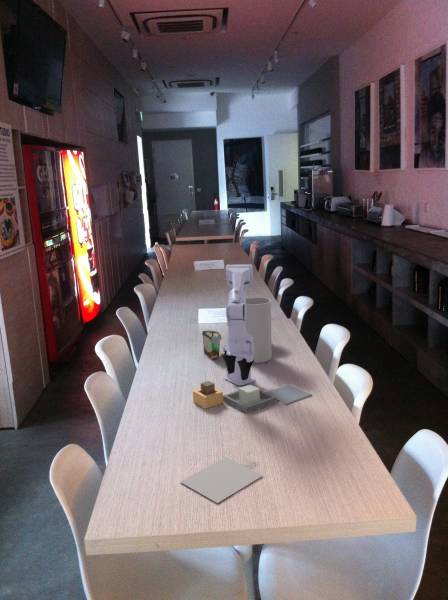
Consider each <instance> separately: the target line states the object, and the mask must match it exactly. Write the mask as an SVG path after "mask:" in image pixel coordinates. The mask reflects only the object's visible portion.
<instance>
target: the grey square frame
mask: <svg viewBox="0 0 448 600" xmlns="http://www.w3.org/2000/svg"><path fill="white" fill-rule="evenodd" d="M259 390H260V398H262V399H263V400H260V402H257V403H254V404H251V405H248V406H247V405H245V404H243V403H241V402H239V400H236V399H239V390H236V391H233V392H230V393H227V394H223V403H225V404H227V405H230V406H232V407H234V408H236V409H238V410H239V411H241V412H243V413H245V414H249V413H252V412H254V411H257V410H259V408H260V409H262V407H263V408H265V406H266V407H268V406H270V405H274V404H276V403H277V400H276V397H275V396H272V395H270V394H268V393H266V392H267V391H264V390H262V389H259Z"/></svg>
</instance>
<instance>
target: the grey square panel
mask: <svg viewBox="0 0 448 600" xmlns="http://www.w3.org/2000/svg"><path fill="white" fill-rule="evenodd" d="M262 476H264V474H262V473H259V472H257V471H255V470H253V469H251V468H249V467H247V466H246V465H245V466H244V465H243V464H241V463H239V462H236V461H234V460H232V459H230V458H228V457H224V458H222V459H219V460H218V461H216V462H214V463H211V465H208V466H206V467H205V468H203V469H201V470H199V471H197V472H195V473H194V474H192V475H190V476H188V477H186V478H185V479H182V480H180V483H182V484H183V485H184V486H186V487H188V488H190V489H192V490H193V491H195V492H197V493H199V494H200V495H202V496H204V497H205V498H207V499H209V500H211V501H213V502H214V503H216V504H218V503H220V502H222V501H223V500H225V499H227V498H228V497H230V496H232V495H233V494H235V493H237V492H238V491H240V490H241V489H243V488H245V487H247V486H248V485H250V484H251V483H253V482H254V481H257V480H258V479H260V478H261V477H262Z"/></svg>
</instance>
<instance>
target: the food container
mask: <svg viewBox="0 0 448 600" xmlns="http://www.w3.org/2000/svg"><path fill="white" fill-rule="evenodd" d="M201 335H202V344H203V354H204V355H205V356H207V358H208V359H210V360H211V361H214V360H216V359H219V358H220V353H221V352H220V351H221V350H220V348H221V341H222V339H223V338H222V336H221V333H220V332H219V331H216V330H202V331H201Z"/></svg>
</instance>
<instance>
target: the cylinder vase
mask: <svg viewBox="0 0 448 600" xmlns="http://www.w3.org/2000/svg"><path fill="white" fill-rule="evenodd" d="M246 332H247V333H248V334H250V335H251V336H252V337H253V342H254V356H253V359H254V363H253V364H261V363H266V362H269V361H270V360H271V359H272V353H273V351H272V300H271V299H270V298H268V297H258V296H257V297H256V296H254V297H251V296H250V297H246ZM245 341H249V340H245Z"/></svg>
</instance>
